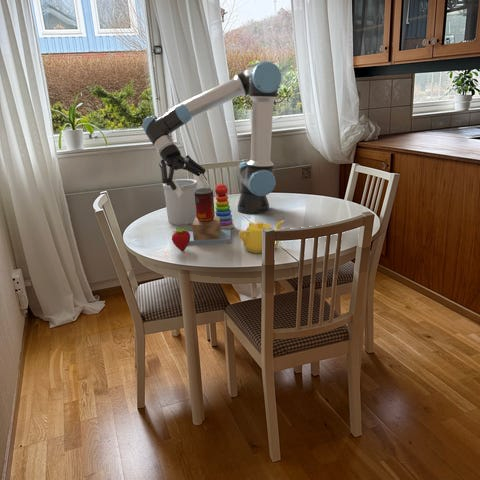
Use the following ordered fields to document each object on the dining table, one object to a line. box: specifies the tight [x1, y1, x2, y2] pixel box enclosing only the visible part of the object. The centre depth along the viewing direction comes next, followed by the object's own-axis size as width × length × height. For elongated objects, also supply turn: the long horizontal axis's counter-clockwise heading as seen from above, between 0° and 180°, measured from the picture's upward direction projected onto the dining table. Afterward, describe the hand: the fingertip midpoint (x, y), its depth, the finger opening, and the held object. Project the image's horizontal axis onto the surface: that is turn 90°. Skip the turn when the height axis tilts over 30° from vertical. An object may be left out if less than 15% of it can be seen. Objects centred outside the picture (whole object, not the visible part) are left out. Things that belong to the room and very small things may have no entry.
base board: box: [187, 229, 232, 246], centre depth 170 cm, size 18×12×2 cm, turn 90°
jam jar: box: [195, 187, 216, 223], centre depth 165 cm, size 7×7×12 cm
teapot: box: [238, 219, 285, 254], centre depth 155 cm, size 14×13×10 cm
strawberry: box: [171, 225, 190, 252], centre depth 156 cm, size 6×8×10 cm
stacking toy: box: [214, 183, 235, 230], centre depth 179 cm, size 8×8×19 cm
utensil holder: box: [162, 178, 198, 226], centre depth 193 cm, size 15×15×18 cm
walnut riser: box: [191, 215, 221, 240], centre depth 168 cm, size 10×10×6 cm
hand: (195, 192), depth 167 cm, fingers open, 13 cm apart
